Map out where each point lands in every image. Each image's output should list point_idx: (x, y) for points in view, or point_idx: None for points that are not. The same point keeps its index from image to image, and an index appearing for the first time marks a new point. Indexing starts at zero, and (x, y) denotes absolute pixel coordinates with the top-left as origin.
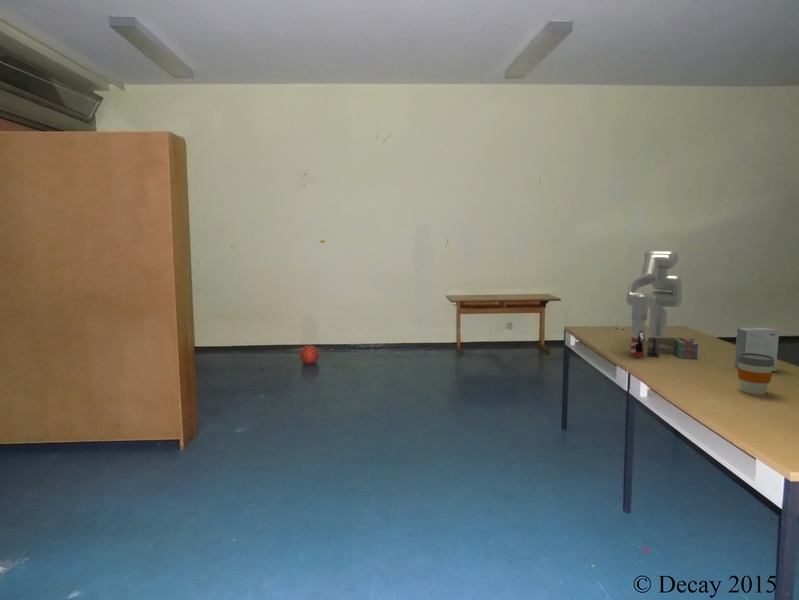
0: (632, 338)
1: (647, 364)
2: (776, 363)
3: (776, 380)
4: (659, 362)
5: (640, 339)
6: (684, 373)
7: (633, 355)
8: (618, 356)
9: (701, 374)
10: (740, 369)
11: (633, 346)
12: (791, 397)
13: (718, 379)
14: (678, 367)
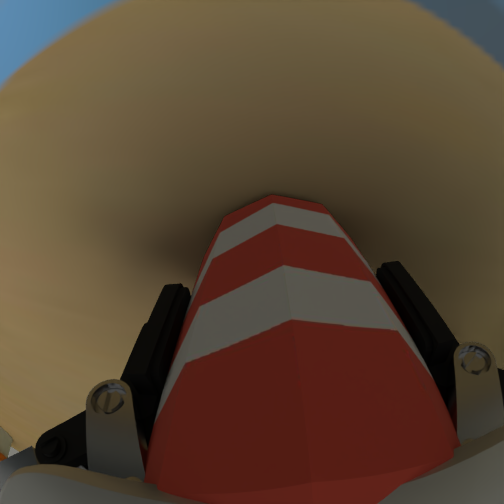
0: (244, 458)
1: (16, 295)
2: None
3: None
4: (118, 378)
5: (6, 470)
6: (2, 386)
7: (220, 225)
8: (205, 36)
9: (34, 422)
10: None
11: (202, 295)
12: (12, 447)
13: (20, 427)
14: (71, 410)
